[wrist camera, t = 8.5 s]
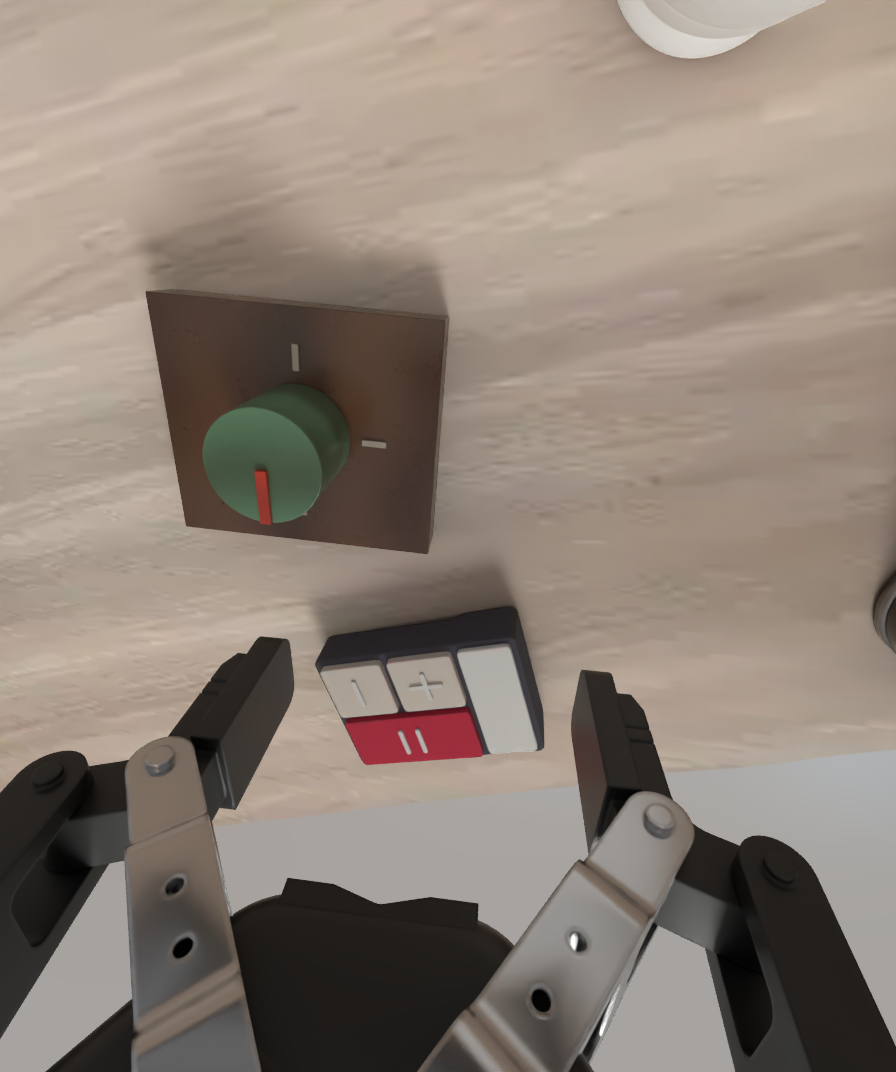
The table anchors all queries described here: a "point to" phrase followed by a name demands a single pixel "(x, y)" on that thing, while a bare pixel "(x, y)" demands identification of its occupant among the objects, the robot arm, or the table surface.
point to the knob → (276, 452)
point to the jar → (705, 22)
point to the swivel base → (331, 368)
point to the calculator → (436, 689)
